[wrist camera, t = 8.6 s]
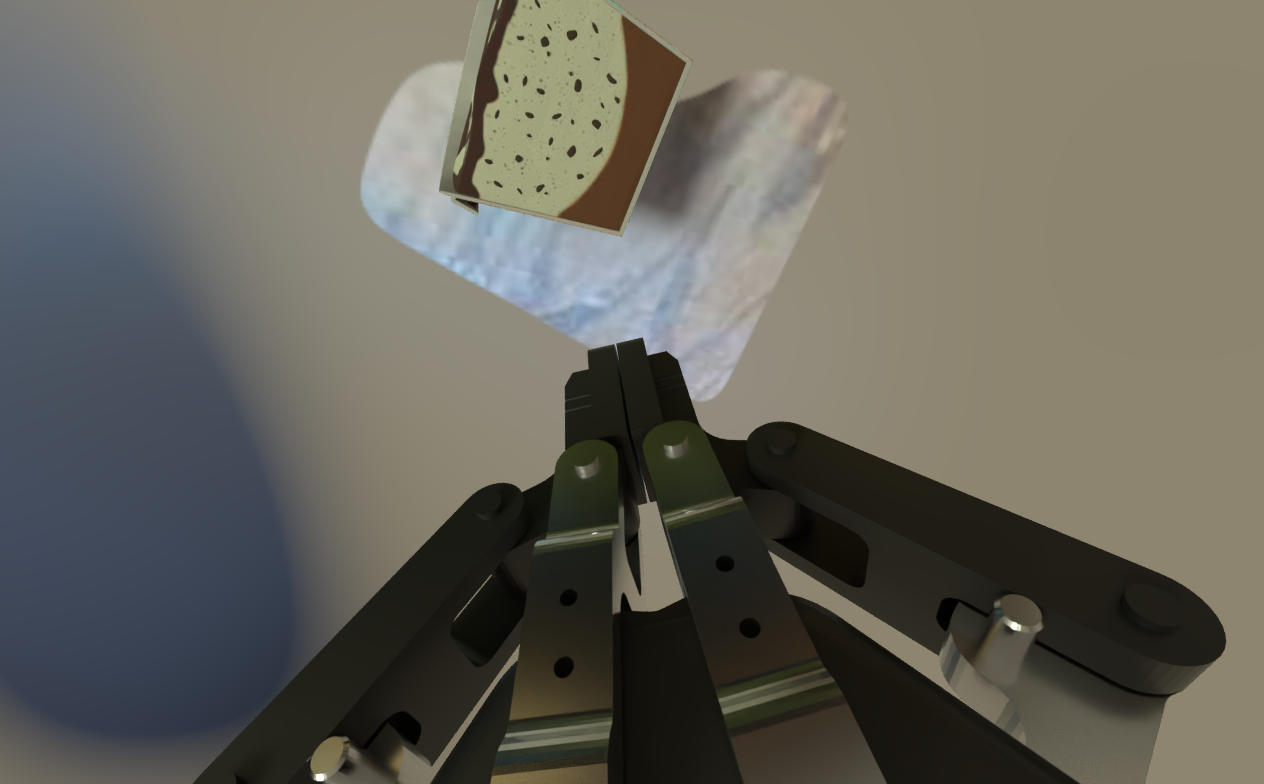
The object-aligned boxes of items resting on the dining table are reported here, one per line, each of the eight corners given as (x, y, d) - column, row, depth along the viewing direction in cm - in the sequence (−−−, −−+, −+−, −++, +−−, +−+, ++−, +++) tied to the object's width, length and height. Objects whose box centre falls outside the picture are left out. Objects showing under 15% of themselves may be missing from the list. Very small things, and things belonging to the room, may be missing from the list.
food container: (665, 27, 30) (493, -73, 25) (706, 26, 25) (503, -98, 20) (590, 228, 35) (438, 174, 31) (612, 260, 30) (436, 202, 26)
